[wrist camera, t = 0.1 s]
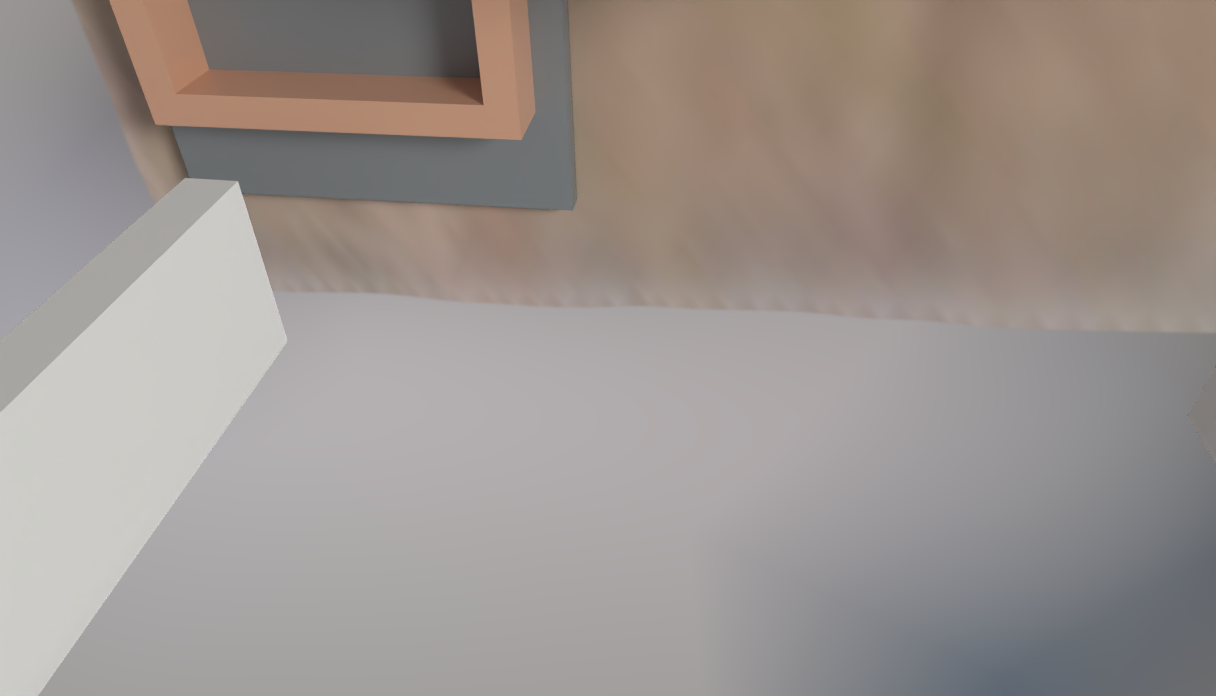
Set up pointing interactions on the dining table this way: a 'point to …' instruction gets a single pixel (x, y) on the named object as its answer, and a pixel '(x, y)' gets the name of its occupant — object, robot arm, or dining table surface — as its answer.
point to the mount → (364, 96)
